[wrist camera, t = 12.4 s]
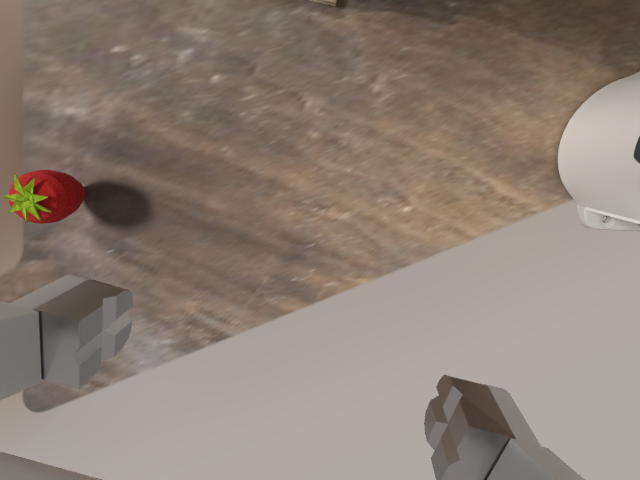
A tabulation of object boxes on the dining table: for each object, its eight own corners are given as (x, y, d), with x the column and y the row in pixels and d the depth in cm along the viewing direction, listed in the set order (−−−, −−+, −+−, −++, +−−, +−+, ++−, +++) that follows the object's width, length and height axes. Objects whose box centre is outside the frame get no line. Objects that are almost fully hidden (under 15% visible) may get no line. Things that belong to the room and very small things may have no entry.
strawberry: (45, 178, 43) (-41, 190, 34) (92, 157, 42) (17, 163, 32) (70, 220, 45) (-5, 243, 35) (116, 201, 43) (51, 218, 34)
